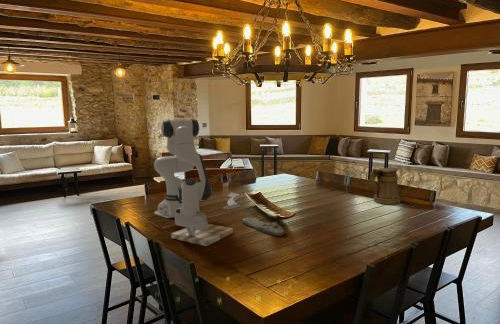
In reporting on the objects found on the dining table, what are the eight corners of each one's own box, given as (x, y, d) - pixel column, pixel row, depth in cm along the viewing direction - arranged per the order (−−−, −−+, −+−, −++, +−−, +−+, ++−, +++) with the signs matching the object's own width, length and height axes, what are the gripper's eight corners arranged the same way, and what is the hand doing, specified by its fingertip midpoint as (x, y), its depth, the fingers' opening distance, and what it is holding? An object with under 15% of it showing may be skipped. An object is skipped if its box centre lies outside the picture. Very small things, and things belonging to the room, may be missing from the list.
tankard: (405, 204, 276) (407, 169, 272) (376, 206, 270) (378, 171, 266) (390, 197, 293) (392, 165, 289) (362, 200, 287) (364, 167, 283)
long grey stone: (250, 222, 242) (238, 226, 236) (250, 214, 242) (237, 217, 236) (289, 233, 215) (276, 238, 209) (289, 224, 214) (275, 229, 208)
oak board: (186, 231, 221) (186, 227, 220) (199, 225, 231) (199, 221, 230) (220, 239, 208) (220, 234, 208) (232, 232, 218) (232, 228, 218)
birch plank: (171, 237, 210) (171, 233, 210) (185, 231, 220) (185, 227, 220) (206, 246, 198) (206, 241, 197) (219, 239, 208) (219, 235, 207)
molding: (228, 195, 306) (227, 192, 306) (243, 195, 306) (243, 191, 305) (222, 210, 264) (222, 206, 264) (240, 210, 264) (239, 206, 264)
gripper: (210, 211, 201) (210, 237, 203) (180, 206, 212) (181, 230, 214) (202, 214, 196) (203, 240, 198) (172, 209, 206) (173, 234, 209)
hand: (191, 235), depth 206 cm, fingers closed
